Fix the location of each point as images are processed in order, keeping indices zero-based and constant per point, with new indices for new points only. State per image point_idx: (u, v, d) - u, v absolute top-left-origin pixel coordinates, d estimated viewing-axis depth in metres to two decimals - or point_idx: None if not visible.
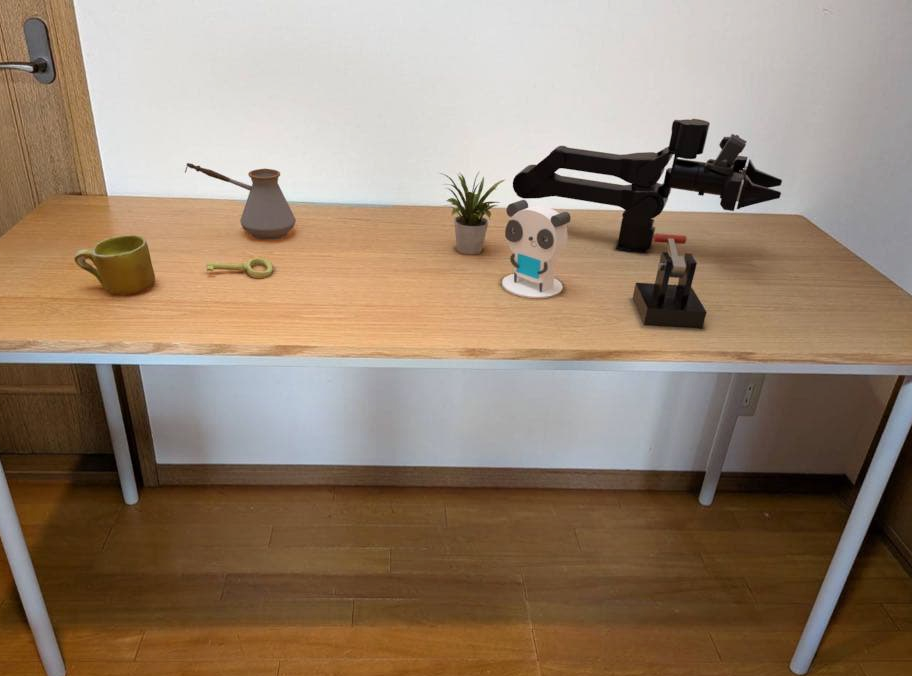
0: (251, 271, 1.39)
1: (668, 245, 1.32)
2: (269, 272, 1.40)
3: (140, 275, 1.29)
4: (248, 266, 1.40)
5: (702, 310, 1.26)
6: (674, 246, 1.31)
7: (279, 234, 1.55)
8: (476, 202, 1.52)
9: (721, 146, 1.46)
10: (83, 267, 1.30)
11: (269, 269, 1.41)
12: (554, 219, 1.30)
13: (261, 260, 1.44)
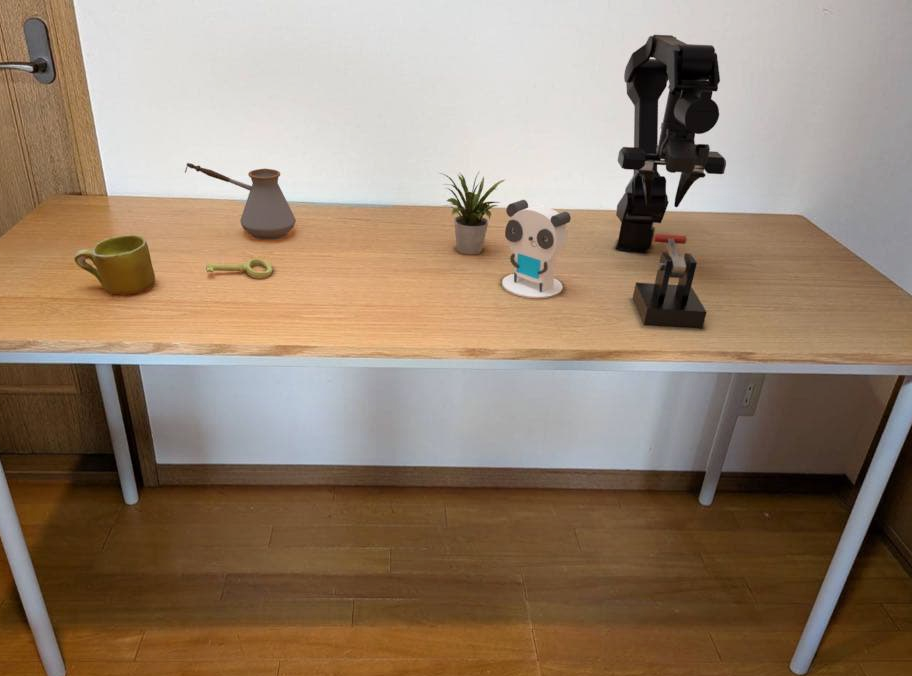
0: (252, 272, 1.39)
1: (668, 245, 1.32)
2: (269, 272, 1.40)
3: (140, 275, 1.29)
4: (248, 267, 1.40)
5: (702, 310, 1.26)
6: (674, 246, 1.31)
7: (279, 234, 1.55)
8: (476, 202, 1.52)
9: (697, 146, 1.31)
10: (83, 267, 1.30)
11: (269, 269, 1.41)
12: (554, 219, 1.30)
13: (260, 260, 1.44)
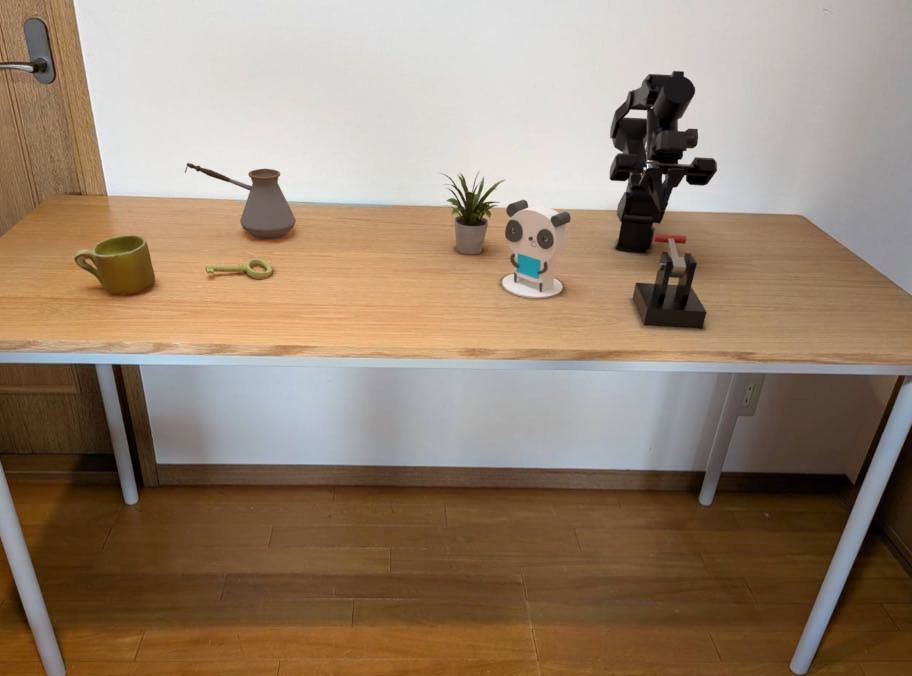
0: (252, 272, 1.38)
1: (668, 245, 1.32)
2: (270, 272, 1.40)
3: (140, 275, 1.29)
4: (248, 267, 1.40)
5: (702, 310, 1.26)
6: (674, 246, 1.31)
7: (279, 234, 1.55)
8: (476, 202, 1.52)
9: None
10: (83, 267, 1.30)
11: (269, 269, 1.41)
12: (554, 219, 1.30)
13: (259, 261, 1.44)
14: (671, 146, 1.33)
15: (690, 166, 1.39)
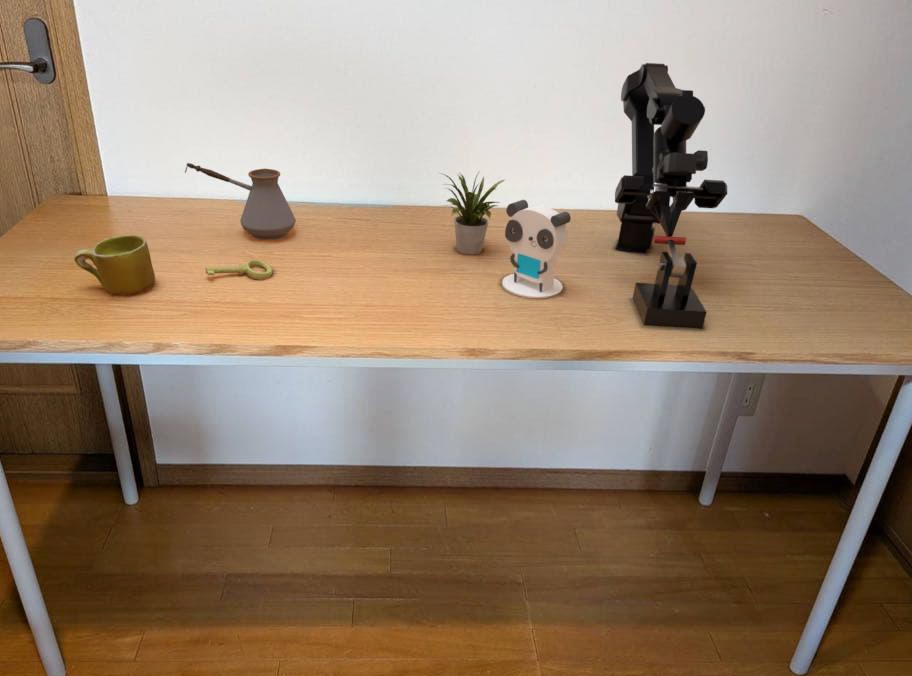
0: (253, 273, 1.38)
1: (668, 246, 1.32)
2: (270, 272, 1.40)
3: (140, 275, 1.29)
4: (248, 268, 1.39)
5: (702, 310, 1.26)
6: (674, 247, 1.31)
7: (279, 234, 1.55)
8: (476, 202, 1.52)
9: None
10: (83, 267, 1.30)
11: (269, 270, 1.41)
12: (554, 219, 1.30)
13: (257, 261, 1.43)
14: (680, 169, 1.27)
15: (699, 189, 1.33)
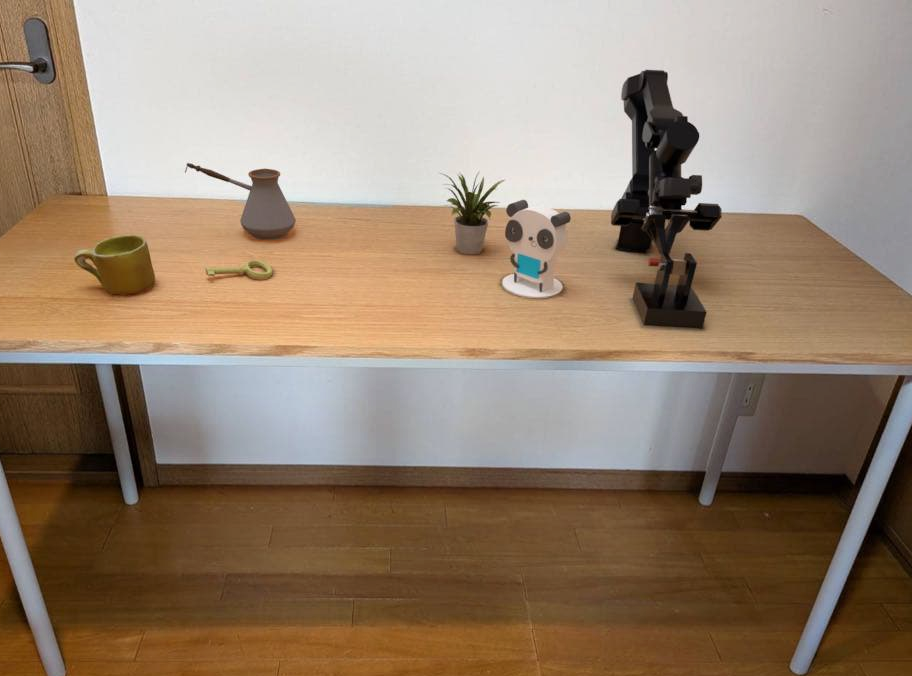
0: (253, 273, 1.38)
1: None
2: (270, 273, 1.40)
3: (140, 275, 1.29)
4: (248, 268, 1.39)
5: (702, 310, 1.26)
6: None
7: (279, 234, 1.55)
8: (476, 202, 1.52)
9: (688, 179, 1.32)
10: (83, 267, 1.30)
11: (269, 270, 1.41)
12: (554, 219, 1.30)
13: (257, 262, 1.43)
14: (674, 193, 1.29)
15: (694, 212, 1.35)
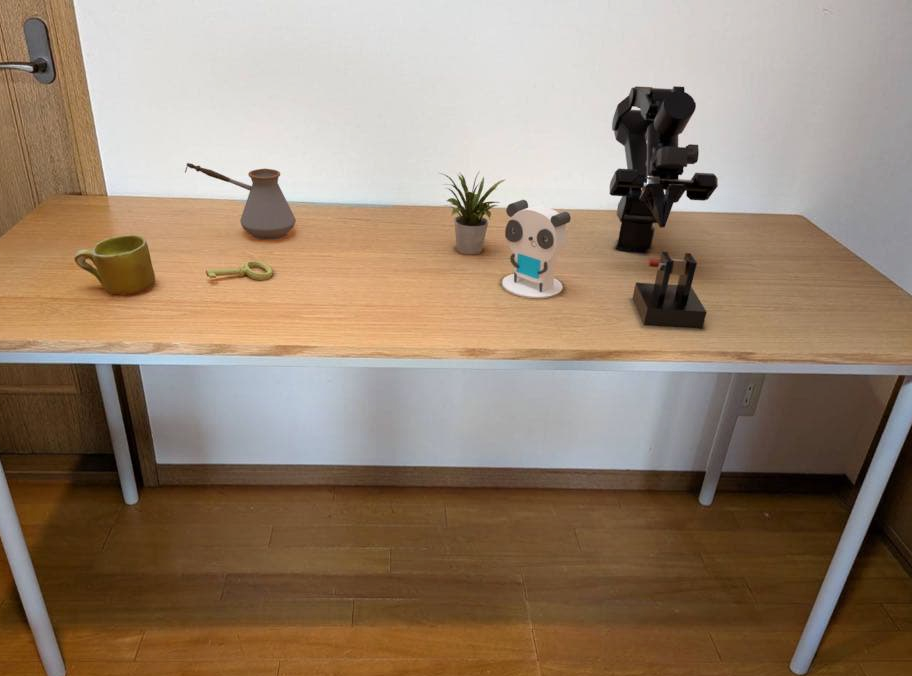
0: (254, 273, 1.38)
1: None
2: (271, 273, 1.40)
3: (140, 275, 1.29)
4: (249, 269, 1.39)
5: (702, 310, 1.26)
6: None
7: (279, 234, 1.55)
8: (476, 202, 1.52)
9: None
10: (83, 267, 1.30)
11: (270, 270, 1.40)
12: (554, 219, 1.30)
13: (256, 262, 1.43)
14: (671, 162, 1.32)
15: (690, 181, 1.38)
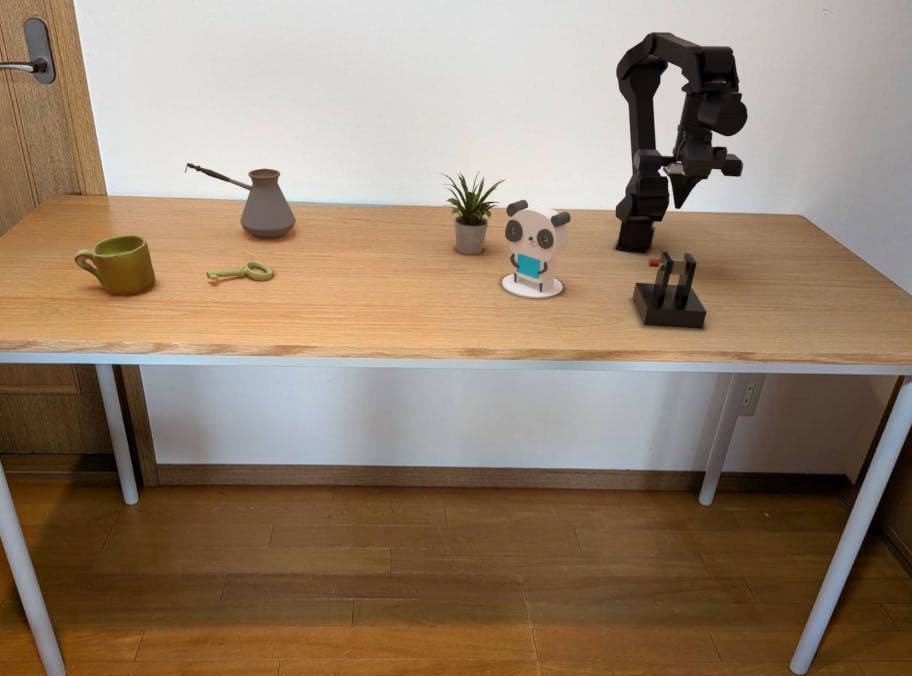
0: (256, 274, 1.38)
1: None
2: (272, 273, 1.40)
3: (140, 275, 1.29)
4: (249, 270, 1.39)
5: (702, 310, 1.26)
6: None
7: (279, 234, 1.55)
8: (476, 202, 1.52)
9: (714, 148, 1.30)
10: (83, 267, 1.30)
11: (270, 270, 1.40)
12: (554, 219, 1.30)
13: (254, 263, 1.43)
14: (694, 173, 1.31)
15: None
